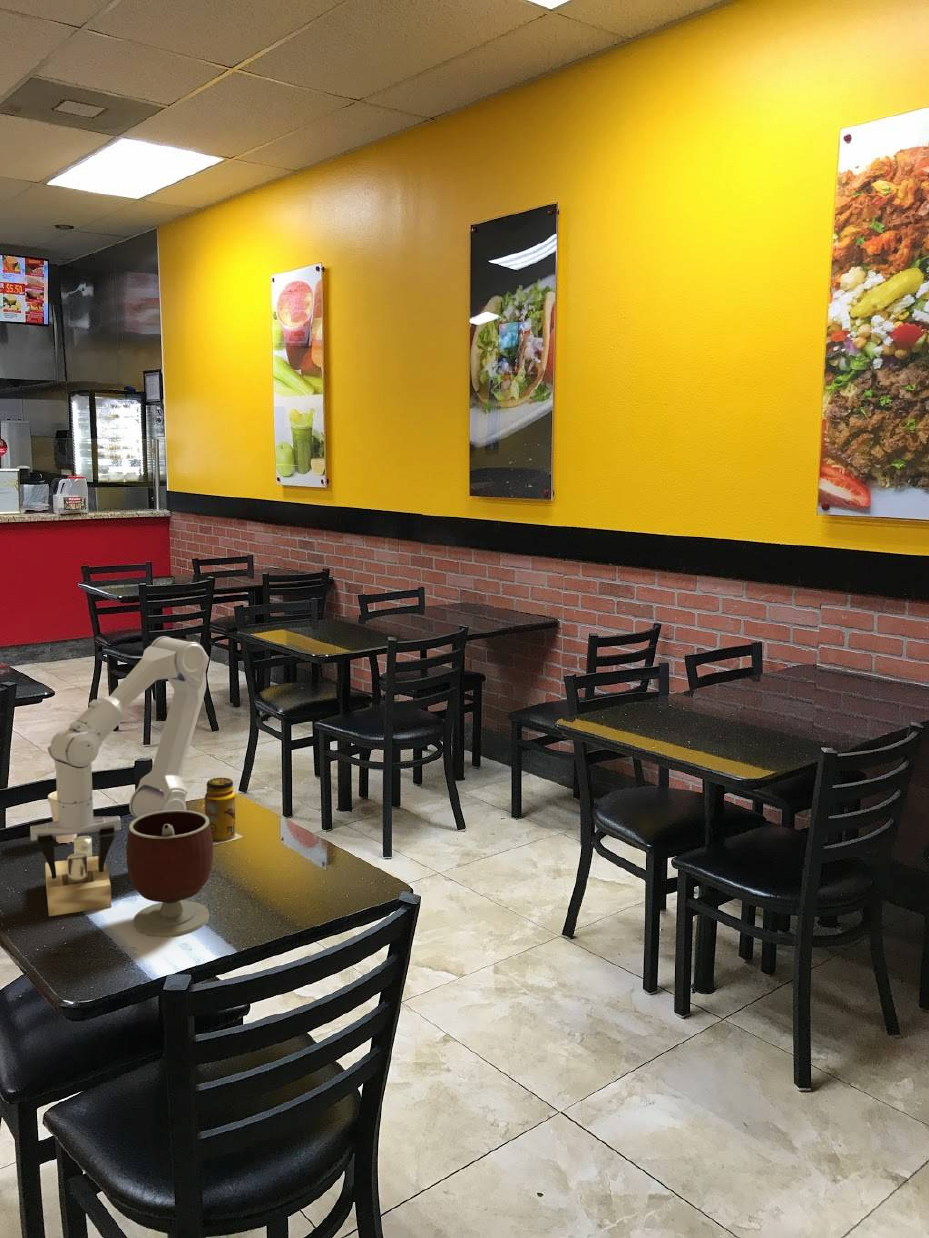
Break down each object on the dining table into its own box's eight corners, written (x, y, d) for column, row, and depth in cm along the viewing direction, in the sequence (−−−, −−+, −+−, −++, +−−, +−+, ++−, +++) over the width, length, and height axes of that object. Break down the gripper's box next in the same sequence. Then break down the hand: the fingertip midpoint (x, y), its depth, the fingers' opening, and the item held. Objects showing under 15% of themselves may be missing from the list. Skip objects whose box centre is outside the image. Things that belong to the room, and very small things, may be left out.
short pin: (95, 855, 195) (94, 836, 194) (87, 862, 192) (87, 842, 191) (79, 854, 195) (78, 835, 194) (71, 861, 192) (70, 841, 191)
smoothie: (60, 848, 198) (58, 780, 196) (42, 840, 202) (40, 773, 199) (89, 839, 203) (87, 773, 201) (72, 831, 207) (69, 766, 204)
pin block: (104, 875, 186) (103, 855, 185) (111, 906, 173) (110, 884, 172) (46, 883, 181) (45, 862, 181) (48, 916, 169) (47, 893, 168)
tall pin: (91, 896, 177) (90, 853, 176) (83, 904, 174) (81, 860, 173) (74, 895, 177) (72, 852, 176) (65, 903, 174) (63, 859, 173)
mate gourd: (132, 905, 174) (129, 794, 171) (214, 899, 177) (213, 790, 174) (123, 947, 159) (119, 827, 156) (213, 940, 162) (211, 822, 159)
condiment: (243, 837, 206) (243, 781, 204) (207, 847, 200) (206, 790, 198) (225, 827, 211) (224, 773, 209) (188, 837, 205) (187, 781, 204)
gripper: (116, 786, 179) (119, 858, 181) (28, 795, 173) (31, 870, 175) (121, 799, 173) (123, 873, 175) (29, 809, 167) (32, 886, 169)
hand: (77, 873), depth 175 cm, fingers open, 7 cm apart
